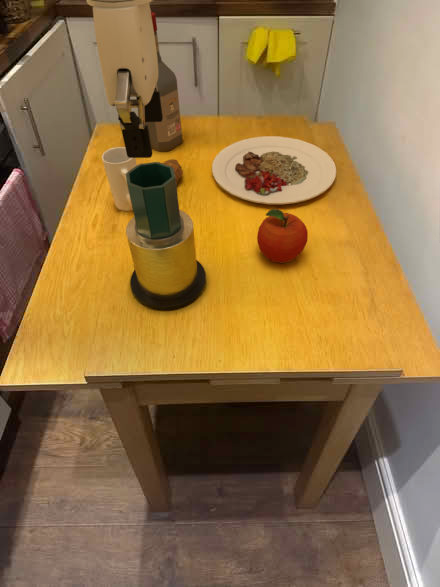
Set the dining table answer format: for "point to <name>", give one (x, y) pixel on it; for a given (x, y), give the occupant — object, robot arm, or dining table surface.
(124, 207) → the mug
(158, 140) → the liquor
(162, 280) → the towel holder
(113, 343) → the dining table surface
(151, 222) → the teal cup
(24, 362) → the dining table surface
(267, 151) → the plated food
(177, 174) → the croissant
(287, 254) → the fruit
